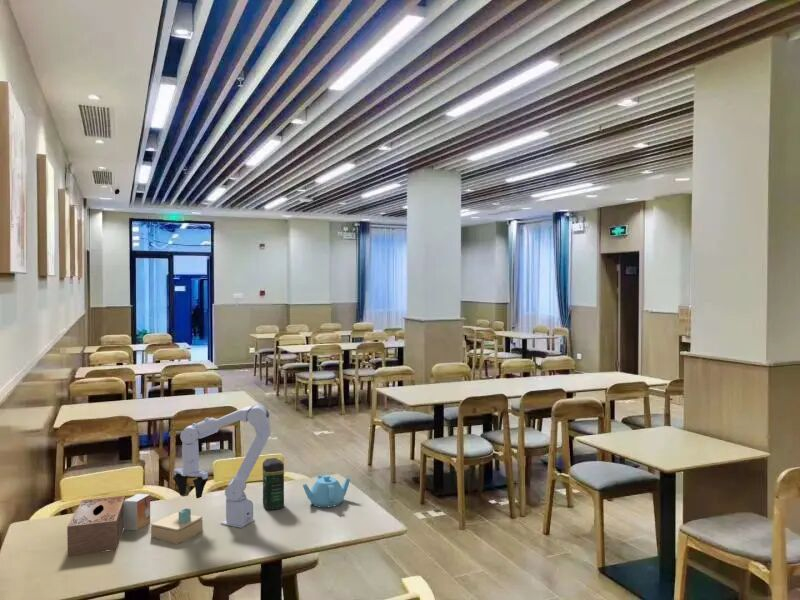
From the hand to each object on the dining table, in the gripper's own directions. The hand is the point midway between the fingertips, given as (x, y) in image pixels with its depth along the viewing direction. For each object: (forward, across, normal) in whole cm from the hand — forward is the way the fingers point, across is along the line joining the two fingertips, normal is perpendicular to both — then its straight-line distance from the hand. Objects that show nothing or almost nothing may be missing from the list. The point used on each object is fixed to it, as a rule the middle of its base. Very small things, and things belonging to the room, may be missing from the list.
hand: (190, 496), depth 219 cm
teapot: (+11, +34, +39) cm, 53 cm away
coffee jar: (+11, +17, +27) cm, 34 cm away
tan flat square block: (+6, +2, -9) cm, 11 cm away
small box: (+11, -17, -9) cm, 22 cm away
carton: (+10, +2, -9) cm, 14 cm away
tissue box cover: (+11, -21, -22) cm, 32 cm away
